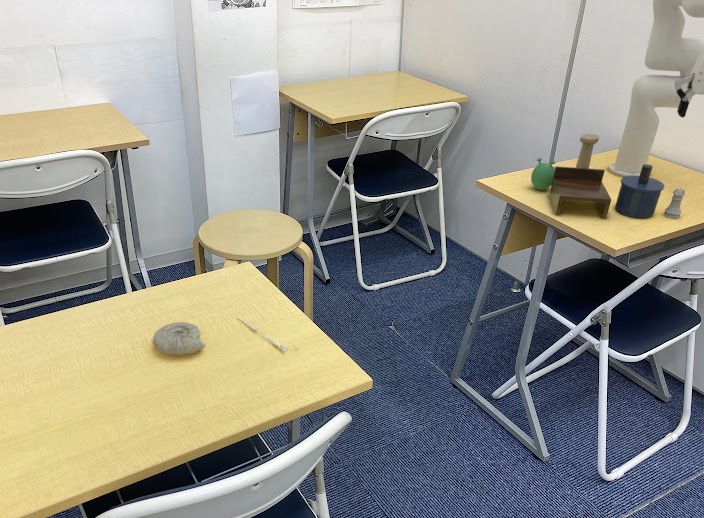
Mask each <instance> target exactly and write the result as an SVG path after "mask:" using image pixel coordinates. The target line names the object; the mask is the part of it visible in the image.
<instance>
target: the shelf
mask: <svg viewBox="0 0 704 518" xmlns="http://www.w3.org/2000/svg"><path fill="white" fill-rule="evenodd" d="M554 167H555V171H554V176H553V180H552V185H551V186H550V188H549V189H550V190H549V195H548V196H549V199H550V203H551V205H552V209H553V211H554V214H555V216H560V215H561V211H562V207H563V203H564V201H572V202H583V203H584V202H585V203H594V205H595V206H596V209H597V211H598V213H599V215H600V218H601V219H603V220H604V219H605V220H606V219H607V217H608V214H609V210H610V207H611V202H612V198H611V195H610V194H609V193H608V190H607V188H606V187H605V185H604V183H603V179H604V176H605V171H606V170H605V169H604V168H603V169H602V168H590V167H589V168H576V167H574V166H573V167H572V166H559V165H556V166H554Z"/></svg>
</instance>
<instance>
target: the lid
mask: <svg viewBox="0 0 704 518" xmlns="http://www.w3.org/2000/svg"><path fill="white" fill-rule="evenodd" d="M653 167H654V166H653V165H651V164H647V165H646V164H645V165H643V166H642V169H641V173H640V176H626V177H624V176H622V178H621V179H620V185H621V184H622V185H624V186H625V187H627V188H630V189H633V190H637V191H642V192H659V191H661V192H663V190H664V189H665V184H664V183H663V182H662V181H661V180H659V179H656V178H653V177H651V175H652V174H651V173H652V171H653Z"/></svg>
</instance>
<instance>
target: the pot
mask: <svg viewBox="0 0 704 518" xmlns="http://www.w3.org/2000/svg"><path fill="white" fill-rule="evenodd" d="M661 193H662V191H659V192H642V191H637V190H633V189H630V188H627V187H625V186H624V185H622V184H621V183H620V187H619V190H618V195H617V198H616V202H615V205H614V211H615V212H616V213H617V214H619V215H620V216H622V217H626V218H630V219H635V220H648V219H651V218H653V216H654V214H655V211H656V208H657V206H658V203H659V200H660V196H661Z"/></svg>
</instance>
